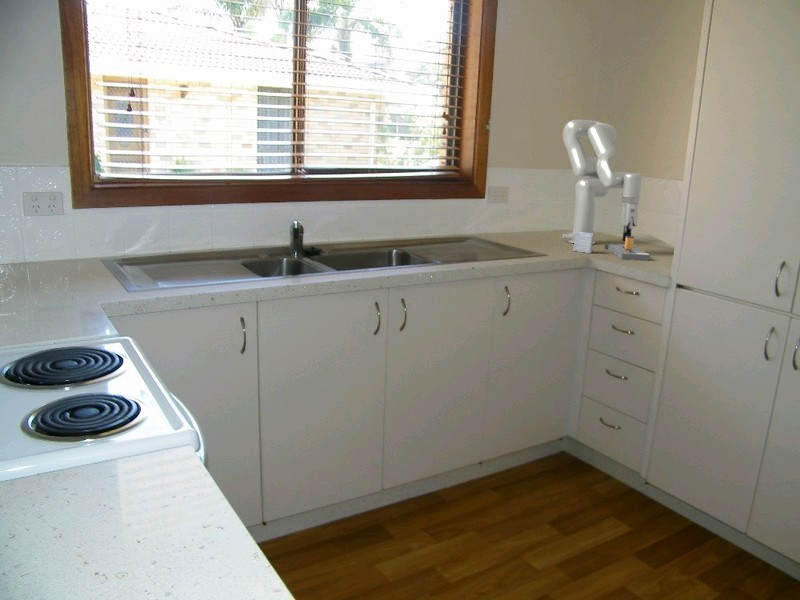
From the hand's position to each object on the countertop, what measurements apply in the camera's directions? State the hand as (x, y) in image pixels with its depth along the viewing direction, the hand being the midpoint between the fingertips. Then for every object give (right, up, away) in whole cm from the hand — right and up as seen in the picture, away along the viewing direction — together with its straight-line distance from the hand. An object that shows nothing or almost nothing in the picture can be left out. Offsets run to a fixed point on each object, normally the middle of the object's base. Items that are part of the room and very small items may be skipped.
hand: (626, 241), depth 323 cm
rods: (0, -3, +9) cm, 10 cm away
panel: (-1, -7, -5) cm, 8 cm away
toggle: (-1, -7, -5) cm, 8 cm away
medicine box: (-21, -5, -2) cm, 22 cm away
